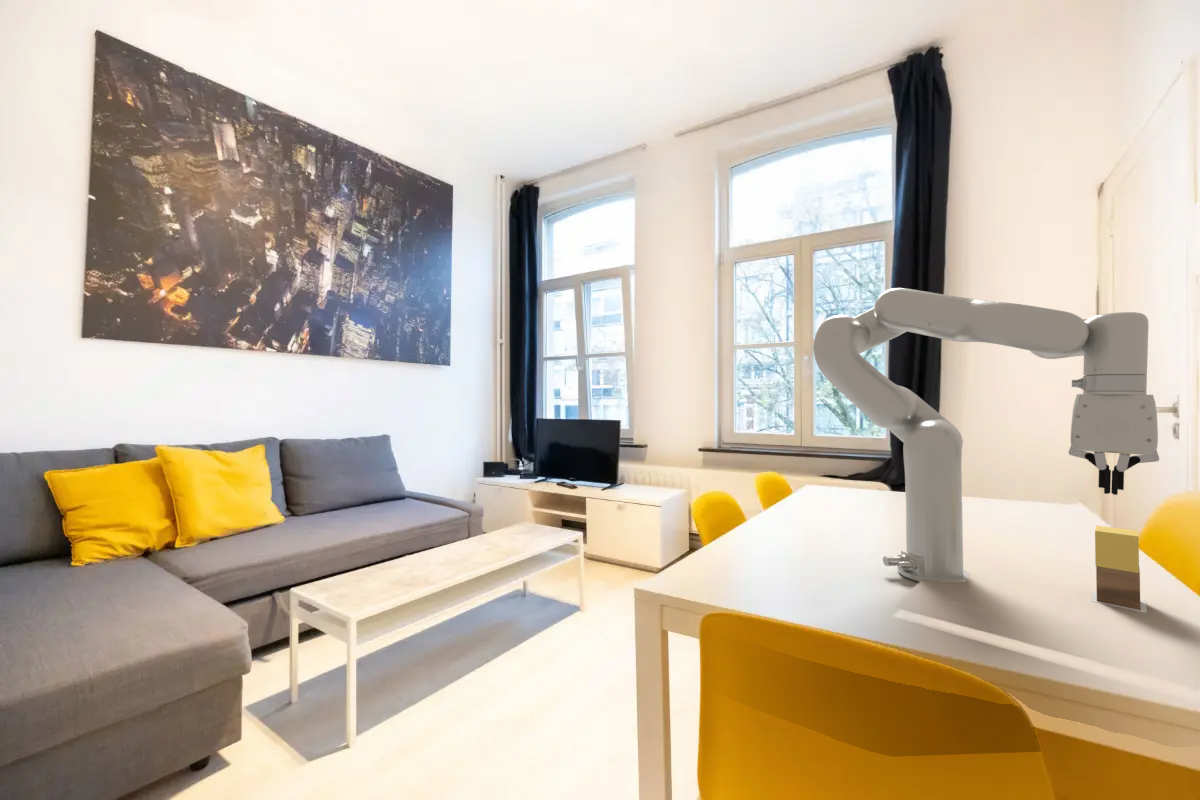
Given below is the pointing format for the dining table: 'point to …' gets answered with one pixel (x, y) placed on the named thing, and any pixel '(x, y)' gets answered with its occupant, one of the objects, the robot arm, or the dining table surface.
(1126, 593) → the walnut block
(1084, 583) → the dining table surface
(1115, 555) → the mustard block
